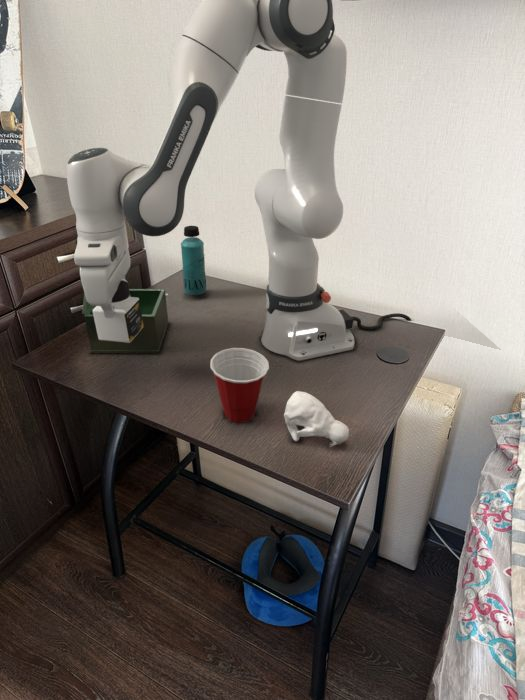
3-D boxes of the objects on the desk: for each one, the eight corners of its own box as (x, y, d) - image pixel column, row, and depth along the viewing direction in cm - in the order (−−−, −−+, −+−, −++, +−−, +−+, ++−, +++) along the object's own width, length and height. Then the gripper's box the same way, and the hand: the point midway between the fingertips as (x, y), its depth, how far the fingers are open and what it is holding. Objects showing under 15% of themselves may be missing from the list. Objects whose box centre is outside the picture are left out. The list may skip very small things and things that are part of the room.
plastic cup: (250, 439, 91) (250, 385, 85) (201, 420, 96) (198, 368, 89) (278, 407, 99) (279, 356, 93) (232, 391, 104) (230, 341, 97)
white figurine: (296, 381, 92) (359, 403, 88) (290, 416, 96) (350, 438, 93) (282, 399, 87) (348, 424, 83) (277, 435, 91) (339, 460, 88)
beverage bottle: (181, 299, 141) (175, 230, 131) (188, 289, 147) (182, 222, 137) (203, 301, 140) (199, 231, 130) (209, 291, 146) (206, 224, 136)
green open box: (168, 323, 129) (164, 288, 124) (158, 353, 116) (154, 316, 111) (108, 323, 129) (101, 288, 124) (91, 353, 116) (84, 315, 111)
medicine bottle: (130, 343, 102) (120, 290, 96) (98, 340, 103) (86, 287, 97) (144, 326, 108) (136, 275, 102) (113, 324, 109) (103, 273, 103)
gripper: (101, 223, 104) (113, 285, 111) (70, 260, 86) (85, 330, 93) (132, 223, 104) (141, 284, 111) (106, 260, 86) (119, 329, 93)
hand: (115, 306), depth 102 cm, fingers closed on medicine bottle, 7 cm apart
